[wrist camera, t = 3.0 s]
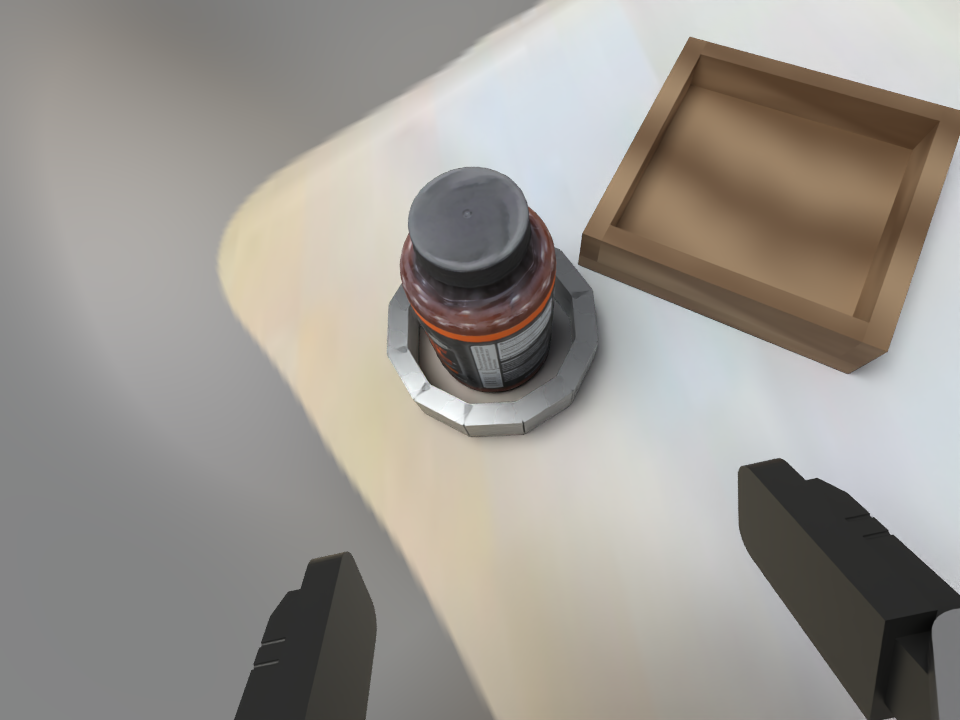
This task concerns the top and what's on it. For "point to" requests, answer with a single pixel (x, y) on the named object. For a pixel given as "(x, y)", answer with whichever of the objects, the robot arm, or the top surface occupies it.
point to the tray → (776, 201)
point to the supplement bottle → (480, 277)
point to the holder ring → (501, 415)
